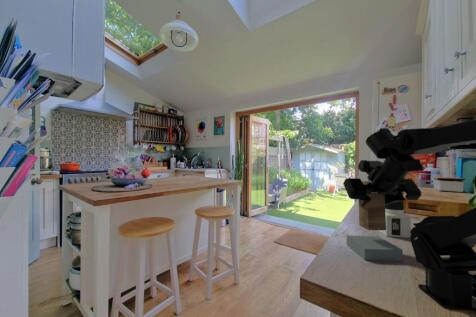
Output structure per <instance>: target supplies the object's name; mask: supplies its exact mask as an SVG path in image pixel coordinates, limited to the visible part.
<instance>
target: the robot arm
mask: <svg viewBox="0 0 476 317" xmlns="http://www.w3.org/2000/svg"><path fill="white" fill-rule="evenodd" d="M365 144H366V146H367V147H368V148H369V149H370V151H371V152H372V153H373V154H374V156H376V158H378V159H381V160H384V161H379V160H367V159H360V161H359V163H358V165H357V169H358V170H359V171H360V172H362V173H365V174H367V181H371V183H368V184H363V183H362V181H363V180H361V178H359V177H358V178H355V177H354V178H353V177H352V178H351V177H347V178H345V179H344V181H343V183H342V184H343V186H344V189H345V192H346V194H347V196H348V198H349V199H350V200H358V199H359V200H358V206H359V205H360V206H363V205H365V204H366V203H368V202H369V201H371V198H370V195H371V193H378V194H385V205H388V204H391V203H395V202H400V201H403V202H405V201H406V200H407V201H418V200H419V199H420V198H421V196H422V191H421V189H420V188H419V187H418V186H417V184H416V183H415V181H414V180H413V179H412V178H406V176H407V175H409V173H410V172H411V173H413V172H422V171H424V166H423V164H422V163H421V159H420V158H419V159H417V158H416V157H415V156H414V155H426V156H427V155H431V154H435V153H439V152H443V151H445V150H447V149H448V148H451V147H455V146H461V145H463V146H464V145H470V144H476V119H471V120H467V121H462V122H457V123H453V124H449V125H446V126H445V125H444V126H439V127H430V128H429V127H425V128H407V129H406V128H405V129H401V130H400V131H399V132H397V134H396V135H394V134H393V133H392V132H391V130H390V129H389V128H388V127H381V128H379V130H378V131H375V132H373V133H372V134H370V135H369V136H368V137H367V138H366V140H365ZM404 195H405V196H404ZM412 225H413V227H412V228H411V231H410V233H411V236H410V238H409V239H410V243H411V247H412V250H413V253H414V257H415V259H416V262H417V263H419V264H421V265H422V266H423V268H425V269H424V270H425V284H421V283H419V284H417V285H418V286H417V287H418V288H419V289H420V290H421V291H422V292H424V293H426V295H428V296H429V297H430V298H431V299H432V300H433V301H435V302H436V303H437V304H439V305H440V306H441V307H443V308H447V309H448V308H449V309H458V310H471V311H472V310H473V311H476V302H475V301H474V300H473V274H470V272H476V251H475V250H474V249H473V248H475V246H476V206H475V207H474V208H471V209H469V210H467V211H465V212H464V213H460V214H459V215H457V216H455V215H428V216H426V217H425V218H423V219H422V220H421V221H419V222H417V223H416V222H414V223H412ZM442 256H444V257H442ZM445 256H446V257H445Z"/></svg>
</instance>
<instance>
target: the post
mask: <svg viewBox="0 0 476 317" xmlns="http://www.w3.org/2000/svg"><path fill="white" fill-rule="evenodd" d="M361 181H362V183H363V184H368V183H371V181H369V180H364V181H363V180H361ZM370 198H371V201H369V202H368V203H366V204H365V205H363V206H360V205H359V204H358V218H359V219H358V220H359V225H358V226H360V227H362V228H364V229H365V230H367V231H378V230H386V215H385V194H378V193H371V195H370ZM357 200H358V201H359V199H357Z"/></svg>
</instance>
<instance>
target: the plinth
mask: <svg viewBox="0 0 476 317" xmlns="http://www.w3.org/2000/svg"><path fill="white" fill-rule="evenodd" d="M346 246H347V247H348V248H350V249H351V250H352V251H353V252H354V253H355V254H357V255H358V256H359V257H361V259H363V260H364V261H389V262H391V261H395V262H397V261H399V262H403V260H404V259H403V249H402V248H400V247H398V246H397V245H395V244H393V243H391V242H390V241H387V240H386V239H384V238H382V237H380V236H379V235H377V236H376V235H373V236H372V235H346Z"/></svg>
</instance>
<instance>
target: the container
mask: <svg viewBox="0 0 476 317" xmlns="http://www.w3.org/2000/svg"><path fill="white" fill-rule="evenodd" d="M385 215H386V230H377V231H378V232H380V233H381V234H383V235H384V236H385V237H390V238H392V237H393V238H405V239H406V238H407V239H410V236H411V233H410V231H411V229H412V228H411V227H412V226H411V223H412V222H411V221H412V220H411V219H412V218H411V216H410V215H409V214H406V213H405V201H400V202H395V203H391V204H388V205H385Z"/></svg>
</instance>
